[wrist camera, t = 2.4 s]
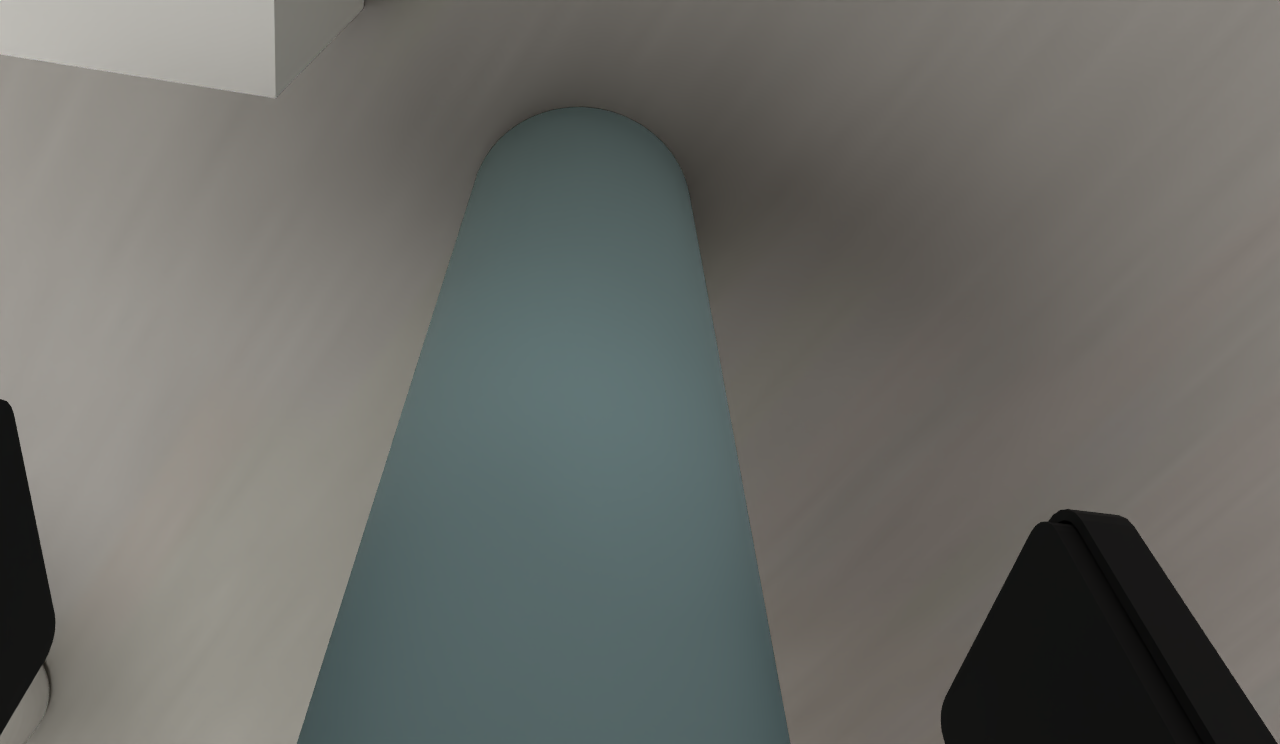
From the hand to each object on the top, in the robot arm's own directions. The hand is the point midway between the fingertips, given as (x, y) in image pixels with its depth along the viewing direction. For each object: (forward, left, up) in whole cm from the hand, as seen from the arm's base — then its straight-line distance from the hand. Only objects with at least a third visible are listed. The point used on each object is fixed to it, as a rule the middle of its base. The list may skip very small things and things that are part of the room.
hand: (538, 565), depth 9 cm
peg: (0, +1, -10) cm, 10 cm away
